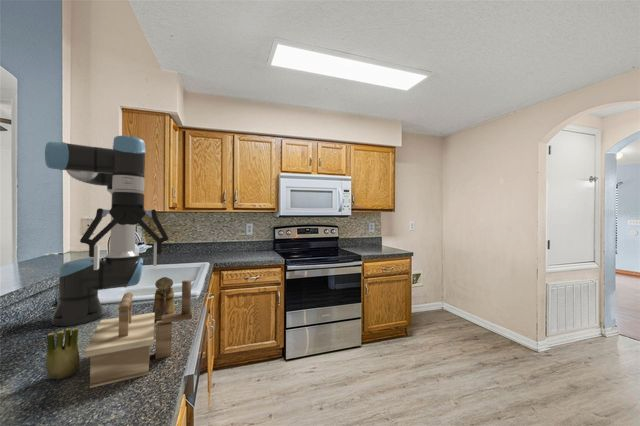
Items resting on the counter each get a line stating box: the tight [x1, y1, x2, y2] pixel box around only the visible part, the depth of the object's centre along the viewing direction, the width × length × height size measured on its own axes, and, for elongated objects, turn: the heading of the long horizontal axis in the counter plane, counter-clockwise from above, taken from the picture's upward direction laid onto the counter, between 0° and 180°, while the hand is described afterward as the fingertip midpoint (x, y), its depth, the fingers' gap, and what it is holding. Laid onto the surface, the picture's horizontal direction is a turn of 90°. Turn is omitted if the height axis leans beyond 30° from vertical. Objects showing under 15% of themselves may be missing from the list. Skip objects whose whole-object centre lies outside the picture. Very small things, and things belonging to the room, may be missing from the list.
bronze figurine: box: [151, 276, 176, 321], centre depth 111 cm, size 9×14×18 cm, turn 28°
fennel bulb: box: [45, 327, 81, 380], centre depth 71 cm, size 6×5×12 cm
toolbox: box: [89, 320, 173, 389], centre depth 80 cm, size 20×18×10 cm
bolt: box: [161, 279, 193, 324], centre depth 85 cm, size 3×8×12 cm, turn 120°
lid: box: [83, 292, 156, 358], centre depth 78 cm, size 22×14×11 cm, turn 30°
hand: (126, 267), depth 78 cm, fingers open, 13 cm apart
